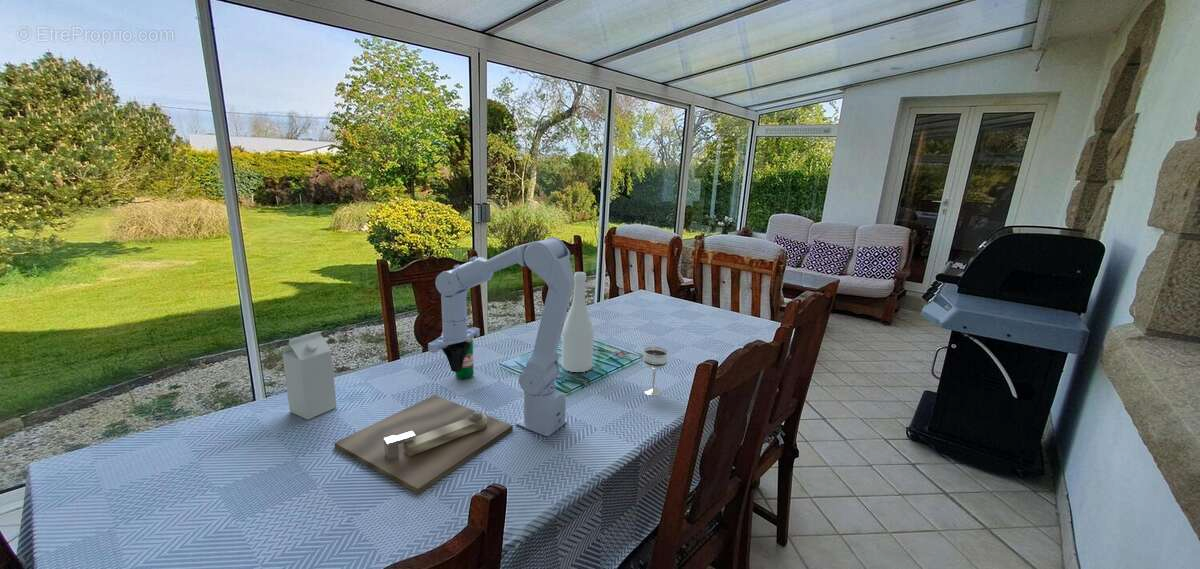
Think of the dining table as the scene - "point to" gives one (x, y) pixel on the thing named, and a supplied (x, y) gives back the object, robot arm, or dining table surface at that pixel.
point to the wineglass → (654, 365)
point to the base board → (429, 463)
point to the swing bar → (446, 433)
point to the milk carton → (309, 376)
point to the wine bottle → (578, 331)
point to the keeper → (396, 444)
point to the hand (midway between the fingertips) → (456, 370)
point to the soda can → (467, 363)
